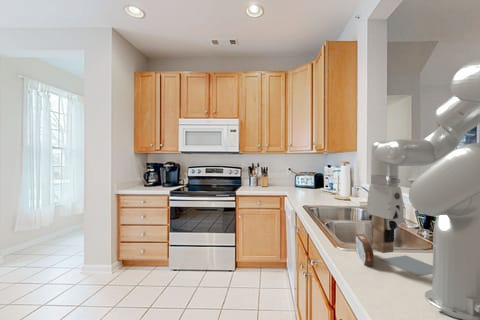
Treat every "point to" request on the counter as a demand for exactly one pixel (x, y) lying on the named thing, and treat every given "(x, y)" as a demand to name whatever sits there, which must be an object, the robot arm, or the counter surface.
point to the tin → (364, 249)
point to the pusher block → (380, 236)
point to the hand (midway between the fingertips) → (383, 239)
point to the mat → (410, 265)
